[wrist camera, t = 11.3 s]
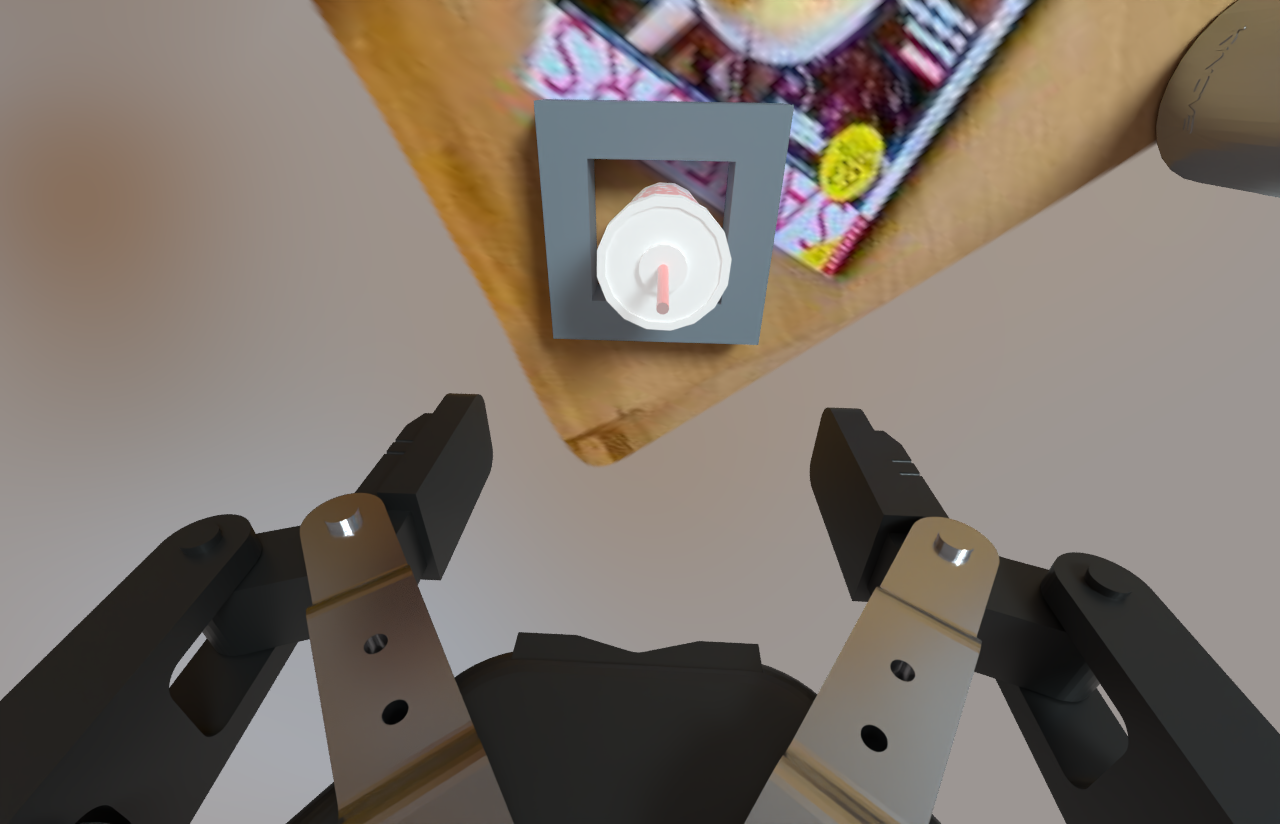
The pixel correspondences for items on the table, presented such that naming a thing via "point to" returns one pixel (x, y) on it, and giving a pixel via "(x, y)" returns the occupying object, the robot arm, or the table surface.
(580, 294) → the hole plate
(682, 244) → the beverage cup
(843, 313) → the table surface
